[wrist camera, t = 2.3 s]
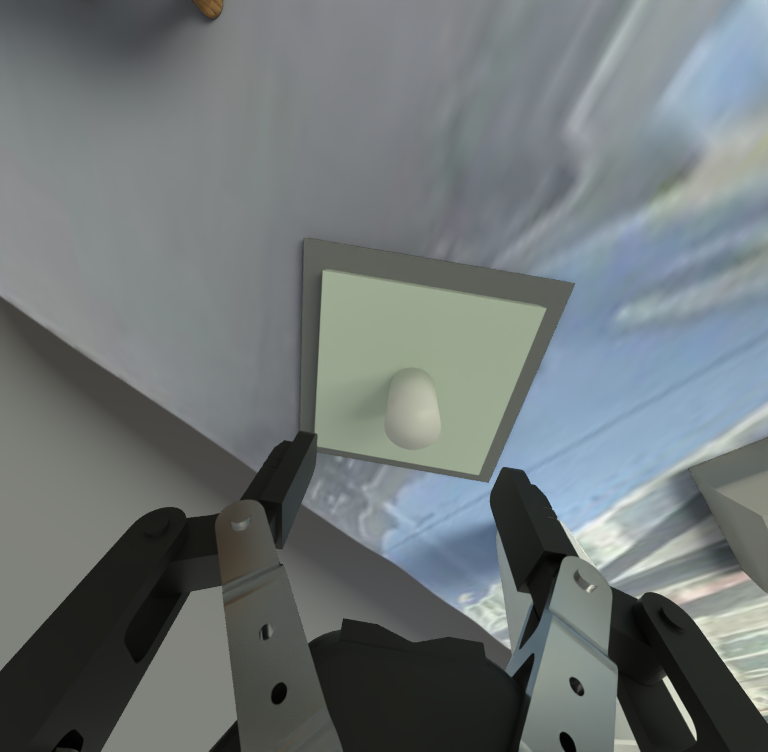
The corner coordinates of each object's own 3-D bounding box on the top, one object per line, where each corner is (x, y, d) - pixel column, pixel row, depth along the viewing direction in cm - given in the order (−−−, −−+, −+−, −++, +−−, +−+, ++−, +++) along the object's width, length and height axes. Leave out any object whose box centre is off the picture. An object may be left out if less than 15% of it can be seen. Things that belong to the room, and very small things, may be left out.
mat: (570, 282, 17) (575, 283, 16) (487, 478, 24) (488, 482, 23) (306, 237, 17) (303, 237, 16) (301, 444, 24) (299, 448, 23)
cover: (539, 304, 17) (592, 330, 12) (476, 466, 22) (494, 528, 18) (327, 268, 17) (293, 279, 12) (317, 437, 23) (291, 492, 18)
